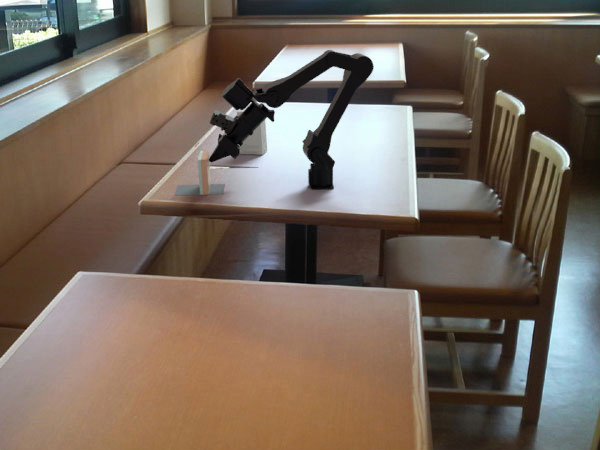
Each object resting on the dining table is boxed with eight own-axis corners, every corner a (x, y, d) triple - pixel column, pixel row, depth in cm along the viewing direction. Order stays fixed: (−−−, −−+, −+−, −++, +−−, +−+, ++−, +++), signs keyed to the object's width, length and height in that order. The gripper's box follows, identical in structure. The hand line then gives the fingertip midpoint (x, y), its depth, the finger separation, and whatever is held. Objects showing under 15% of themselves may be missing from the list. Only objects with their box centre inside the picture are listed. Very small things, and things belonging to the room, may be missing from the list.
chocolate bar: (251, 175, 200) (194, 173, 203) (252, 178, 200) (194, 176, 203) (258, 167, 208) (202, 164, 211) (258, 170, 209) (203, 167, 211)
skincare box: (267, 151, 227) (266, 107, 222) (262, 155, 222) (261, 111, 216) (244, 149, 229) (242, 106, 224) (238, 154, 224) (236, 110, 218)
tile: (210, 184, 192) (208, 150, 188) (208, 194, 184) (206, 159, 180) (202, 184, 192) (200, 150, 188) (200, 194, 184) (197, 159, 180)
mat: (225, 185, 193) (225, 183, 192) (223, 196, 184) (223, 194, 184) (178, 187, 192) (177, 185, 192) (174, 197, 184) (174, 195, 183)
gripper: (228, 94, 188) (190, 133, 191) (224, 107, 170) (184, 150, 174) (256, 121, 191) (219, 159, 195) (256, 137, 174) (215, 178, 177)
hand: (209, 161), depth 185 cm, fingers closed
